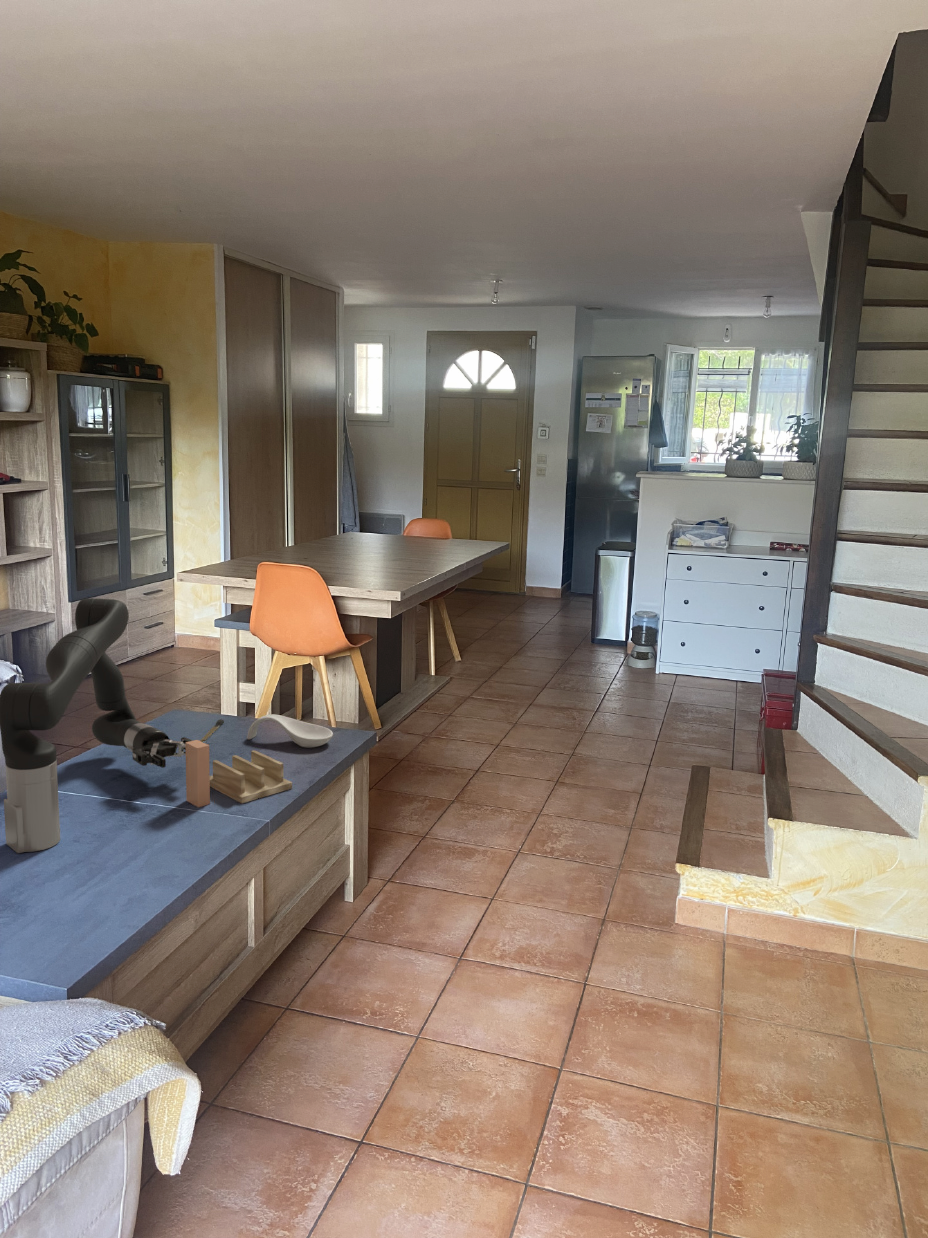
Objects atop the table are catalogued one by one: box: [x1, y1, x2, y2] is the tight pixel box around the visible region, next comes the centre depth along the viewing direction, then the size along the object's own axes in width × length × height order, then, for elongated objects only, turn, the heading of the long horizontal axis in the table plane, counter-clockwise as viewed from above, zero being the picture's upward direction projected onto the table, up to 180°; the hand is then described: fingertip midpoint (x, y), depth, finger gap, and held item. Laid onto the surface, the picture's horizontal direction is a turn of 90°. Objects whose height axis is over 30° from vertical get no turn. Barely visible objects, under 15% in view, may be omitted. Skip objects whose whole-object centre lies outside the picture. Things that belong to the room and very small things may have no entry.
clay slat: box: [185, 739, 211, 808], centre depth 205 cm, size 3×5×14 cm, turn 47°
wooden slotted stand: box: [210, 749, 293, 804], centre depth 217 cm, size 14×16×6 cm
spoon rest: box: [246, 713, 334, 749], centre depth 249 cm, size 24×12×7 cm, turn 80°
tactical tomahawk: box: [199, 719, 225, 744], centre depth 253 cm, size 21×7×1 cm, turn 175°
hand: (181, 759), depth 209 cm, fingers open, 8 cm apart
